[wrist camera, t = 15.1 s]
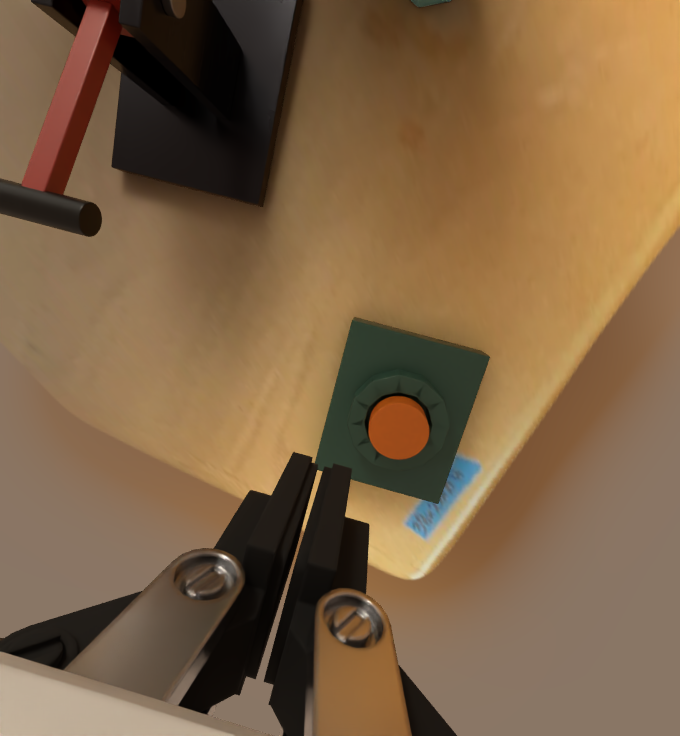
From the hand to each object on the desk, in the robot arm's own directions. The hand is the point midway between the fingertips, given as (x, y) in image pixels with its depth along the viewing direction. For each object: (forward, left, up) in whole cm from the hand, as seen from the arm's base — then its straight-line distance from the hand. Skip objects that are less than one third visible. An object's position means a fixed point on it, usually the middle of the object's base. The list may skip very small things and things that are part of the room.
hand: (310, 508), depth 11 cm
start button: (+3, +4, -17) cm, 18 cm away
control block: (+3, +4, -21) cm, 22 cm away
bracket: (-16, -15, -21) cm, 30 cm away
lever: (-11, -15, -11) cm, 21 cm away
